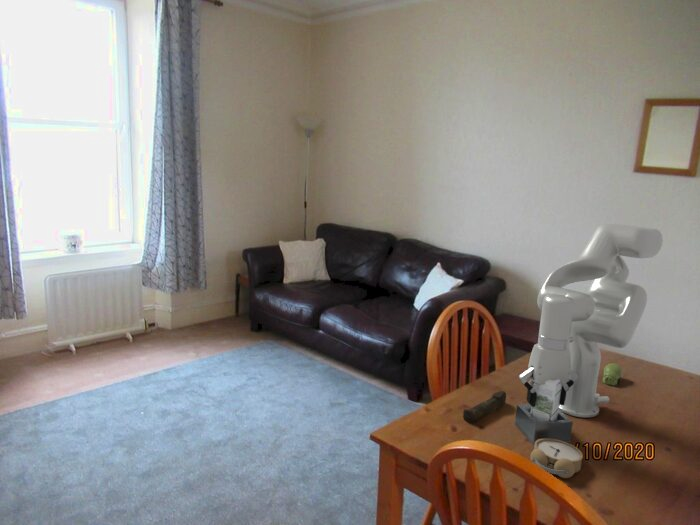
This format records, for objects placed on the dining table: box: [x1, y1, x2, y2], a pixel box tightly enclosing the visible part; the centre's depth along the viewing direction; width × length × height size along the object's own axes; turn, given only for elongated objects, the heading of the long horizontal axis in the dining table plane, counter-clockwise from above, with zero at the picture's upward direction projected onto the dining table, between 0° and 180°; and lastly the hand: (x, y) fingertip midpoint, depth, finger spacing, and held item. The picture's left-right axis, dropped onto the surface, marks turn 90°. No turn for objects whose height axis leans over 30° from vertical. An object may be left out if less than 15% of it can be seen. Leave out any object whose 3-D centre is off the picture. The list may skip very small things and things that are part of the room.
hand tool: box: [462, 390, 507, 425], centre depth 151 cm, size 19×4×5 cm, turn 129°
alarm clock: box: [529, 438, 584, 479], centre depth 127 cm, size 11×5×15 cm
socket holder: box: [514, 403, 574, 446], centre depth 140 cm, size 10×10×6 cm
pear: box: [602, 362, 623, 386], centre depth 176 cm, size 6×5×10 cm
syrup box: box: [531, 379, 562, 421], centre depth 139 cm, size 6×6×14 cm
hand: (545, 403), depth 139 cm, fingers closed on syrup box, 7 cm apart
